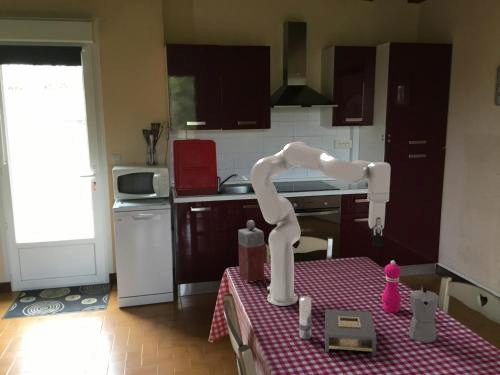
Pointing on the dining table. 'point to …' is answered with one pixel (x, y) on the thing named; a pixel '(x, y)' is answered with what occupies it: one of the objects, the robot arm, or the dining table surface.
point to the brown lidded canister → (251, 253)
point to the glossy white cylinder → (305, 317)
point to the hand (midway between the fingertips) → (376, 241)
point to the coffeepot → (423, 315)
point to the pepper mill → (392, 288)
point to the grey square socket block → (349, 331)
